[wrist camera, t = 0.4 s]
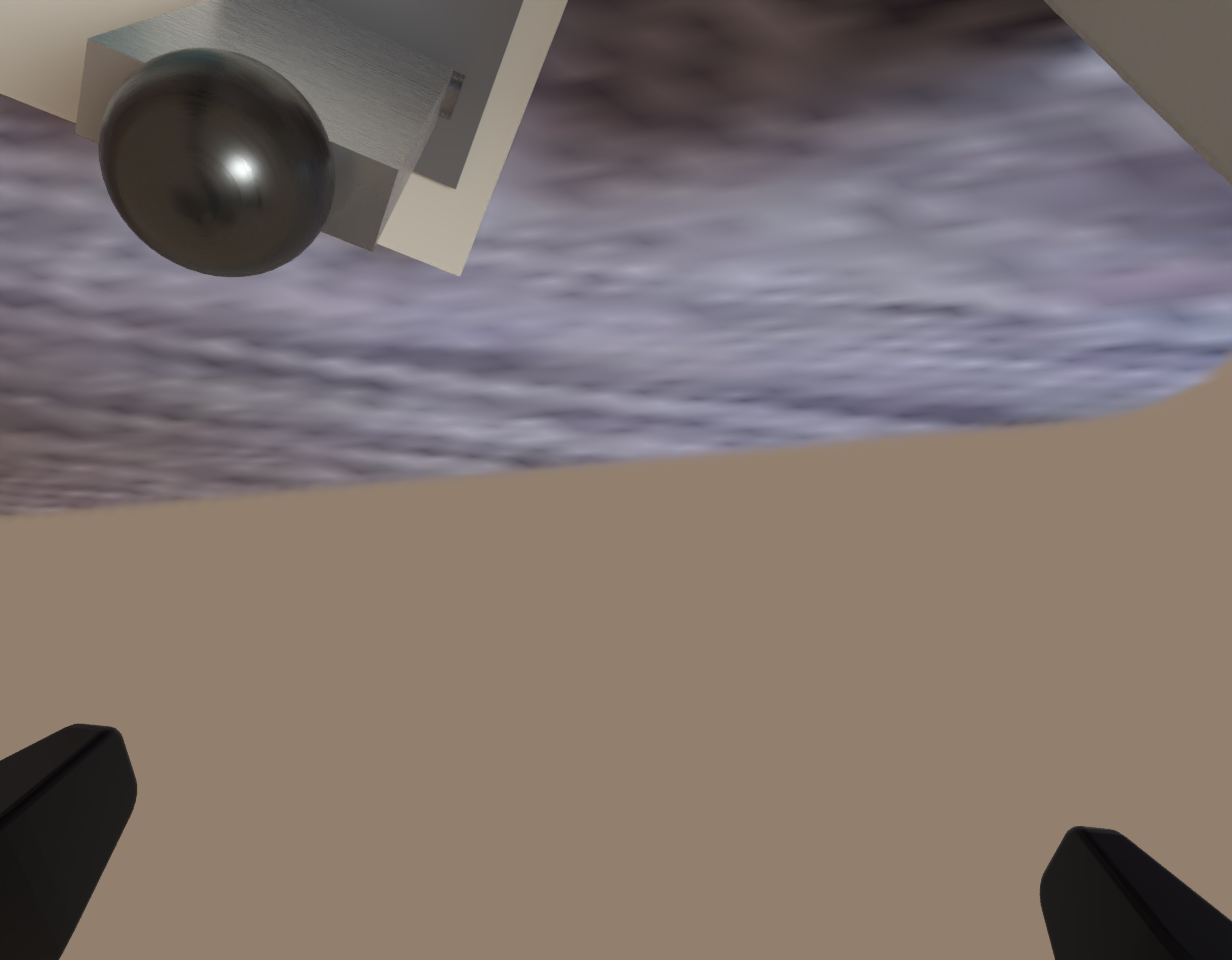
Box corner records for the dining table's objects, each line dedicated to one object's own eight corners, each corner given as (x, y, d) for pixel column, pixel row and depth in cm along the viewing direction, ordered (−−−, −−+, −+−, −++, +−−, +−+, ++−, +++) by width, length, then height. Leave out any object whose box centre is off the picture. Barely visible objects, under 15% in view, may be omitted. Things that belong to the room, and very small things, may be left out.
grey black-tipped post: (273, -67, 15) (-21, -19, 7) (480, 32, 16) (413, 166, 8) (244, 65, 16) (-40, 228, 8) (439, 151, 17) (346, 366, 9)
